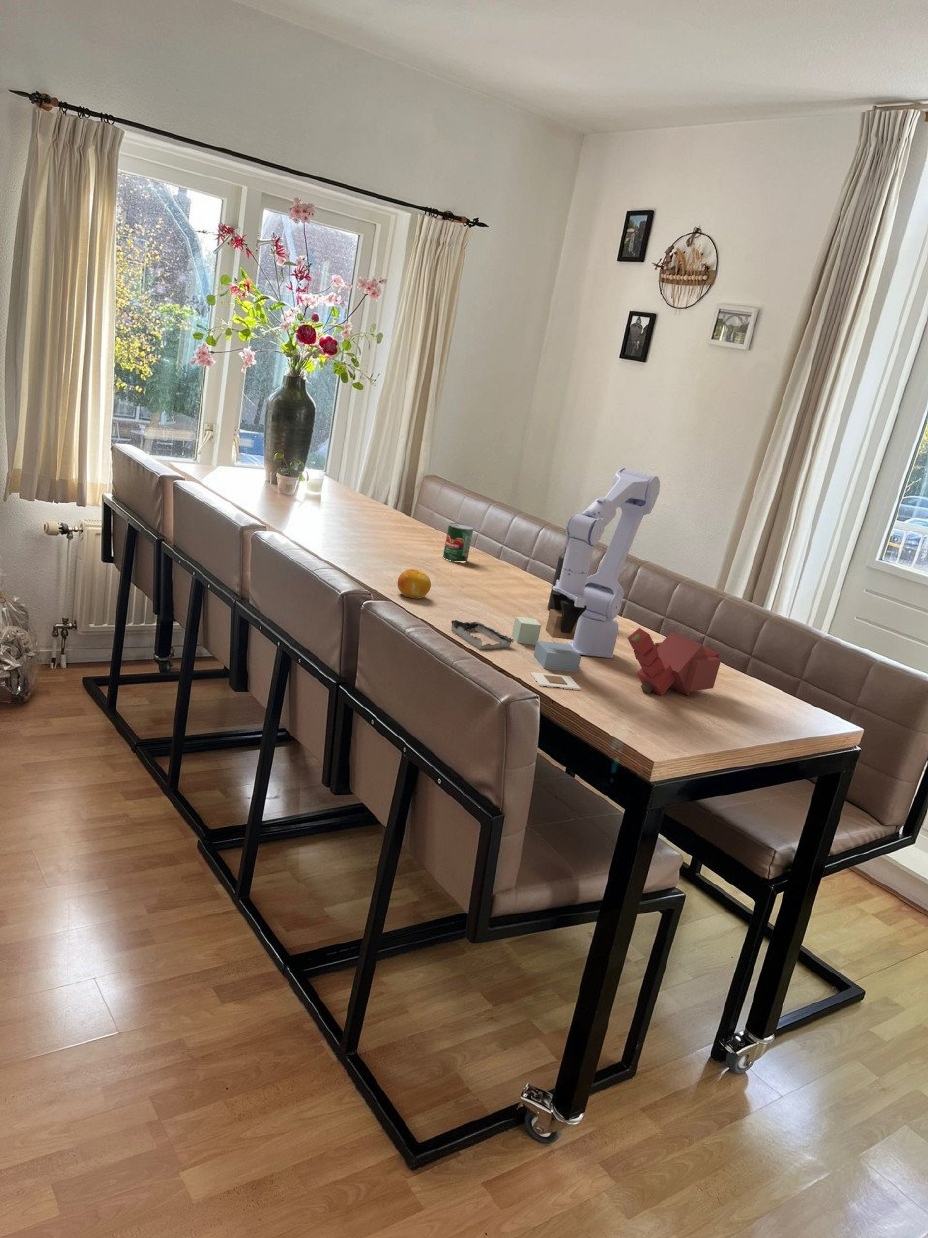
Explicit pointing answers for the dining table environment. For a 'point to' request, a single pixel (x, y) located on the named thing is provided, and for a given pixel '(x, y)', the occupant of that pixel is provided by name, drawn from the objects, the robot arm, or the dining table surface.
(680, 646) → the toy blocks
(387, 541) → the dining table surface
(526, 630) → the sage block
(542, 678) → the card
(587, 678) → the dining table surface
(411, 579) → the fruit
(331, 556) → the dining table surface
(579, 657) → the slate base block
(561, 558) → the bottle
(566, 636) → the walnut block
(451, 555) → the canned tomato
